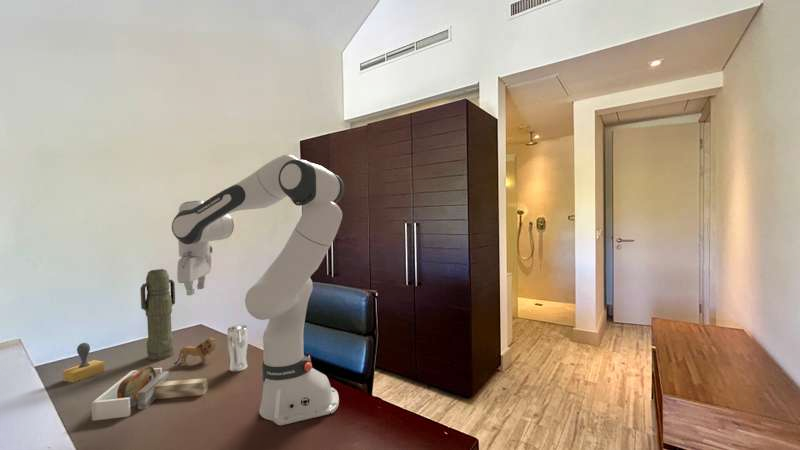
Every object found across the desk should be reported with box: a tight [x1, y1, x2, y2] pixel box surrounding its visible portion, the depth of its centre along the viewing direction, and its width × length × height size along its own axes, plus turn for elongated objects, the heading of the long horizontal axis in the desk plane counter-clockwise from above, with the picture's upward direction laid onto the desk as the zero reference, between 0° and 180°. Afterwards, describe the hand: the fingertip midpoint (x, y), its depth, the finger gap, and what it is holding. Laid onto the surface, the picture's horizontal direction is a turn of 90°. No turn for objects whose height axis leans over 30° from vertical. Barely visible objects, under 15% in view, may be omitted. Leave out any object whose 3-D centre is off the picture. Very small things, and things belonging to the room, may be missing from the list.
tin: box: [117, 366, 156, 408], centre depth 110 cm, size 15×3×8 cm, turn 6°
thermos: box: [139, 268, 176, 361], centre depth 143 cm, size 9×12×35 cm
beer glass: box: [226, 324, 249, 373], centre depth 131 cm, size 7×7×15 cm
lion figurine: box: [173, 337, 217, 367], centre depth 136 cm, size 15×5×9 cm, turn 107°
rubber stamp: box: [62, 342, 106, 383], centre depth 127 cm, size 10×6×12 cm, turn 160°
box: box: [90, 367, 163, 421], centre depth 110 cm, size 9×21×5 cm, turn 12°
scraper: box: [137, 371, 209, 410], centre depth 112 cm, size 16×14×5 cm
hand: (195, 291), depth 118 cm, fingers open, 8 cm apart
